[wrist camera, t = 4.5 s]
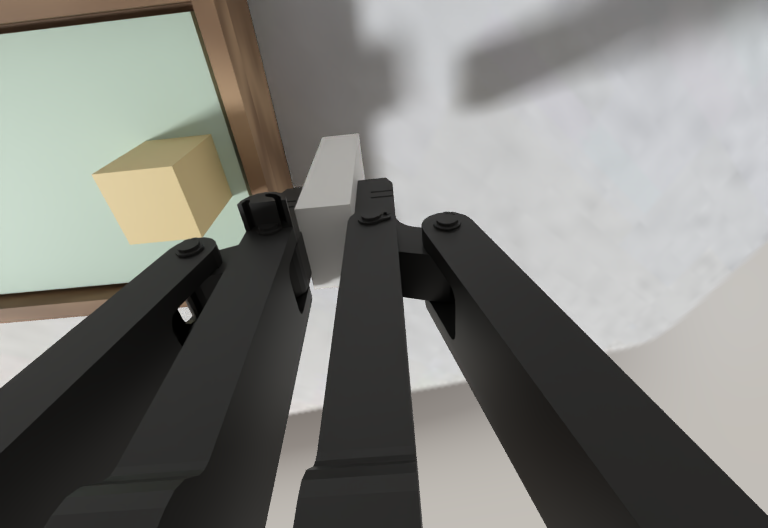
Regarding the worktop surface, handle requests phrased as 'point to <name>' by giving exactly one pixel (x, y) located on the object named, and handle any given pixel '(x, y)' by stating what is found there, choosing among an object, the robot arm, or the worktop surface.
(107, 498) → the robot arm
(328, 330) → the worktop surface
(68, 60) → the cover plate
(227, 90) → the wooden tray
